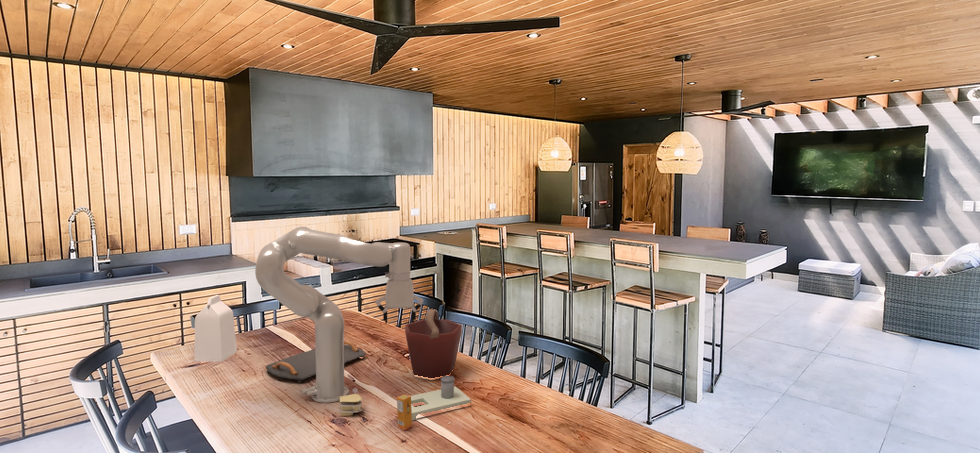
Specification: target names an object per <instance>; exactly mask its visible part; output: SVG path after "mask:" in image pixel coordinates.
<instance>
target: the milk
mask: <svg viewBox="0 0 980 453" xmlns="http://www.w3.org/2000/svg"><path fill="white" fill-rule="evenodd" d="M237 348H238V347H237V339H236V328H235V317H234V311H233V309H232V308H230V306H228V305H227V304H226V303H224V302H223V301H222V299H221V296H220V295H219V294H216V295H213V296H210V297H208V298H207V304H205V305H204V306H203V308H202V309H201V310H200V312H198V313H197V314H196V316H195V318H194V362H212V363H213V362H217V363H218V362H220V363H222V362H224V361H225V360H227V359H228V358H230V357H231V356H233V355H234V354H235V353H237V352H238V349H237Z"/></svg>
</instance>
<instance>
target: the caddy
mask: <svg viewBox="0 0 980 453" xmlns="http://www.w3.org/2000/svg"><path fill="white" fill-rule="evenodd" d="M410 396H411V410H412V422H413V421H416V420H415V419H416V416H417V415H418V414H421V413H427V412H432V411H438V410H441V409H446V408H450V407H454V406H458V405H463V404H467V403H471V404H472V399H471V398H470V397H469V396H468V395H467V394H465V393H464V392H463V391H462V390H461V389H459V388H458V387H457V386H455V376H452V375H450V376H443V377H441V379H440V389H437V390H432V391H428V392H427V391H426V392H423V393H418V394H414V395H410ZM418 402H424V403H425V404H426V405H421V406H417V407H414V406H413V405H412V404H413V403H418Z"/></svg>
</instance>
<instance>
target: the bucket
mask: <svg viewBox="0 0 980 453" xmlns="http://www.w3.org/2000/svg"><path fill="white" fill-rule="evenodd" d="M424 318H425V319H423V318H422V319H420V320H419V319H418V320H417V321H414V323H412V322H410V323H407V324H405V325H404V331H405V332H404V333H405V338H406V344H407V349H408V354H409V359H410V364H411V369H412V370H413V371H412V375H413V374H414V375H418V376H423V377H428V378H435V377H440V376H446V375H449V374H450V373H451V372H452V370H453V369H454V370H455V367H456V366H455V365H456V362H457V356H458V352H459V346H460V342H461V337H462V330H463V328H462V324H459V323H457V322H455V321H452V320H449V319H439V312H438V310H437V309H428V311H427V312H426V314H425V317H424ZM452 373H453V372H452ZM414 375H413V376H414Z"/></svg>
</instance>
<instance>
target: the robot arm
mask: <svg viewBox="0 0 980 453" xmlns="http://www.w3.org/2000/svg"><path fill="white" fill-rule="evenodd" d="M299 254H303V255H308V256H315V257H317V256H318V257H322V258H329V259H336V260H340V261H344V262H350V263H355V264H359V265H366V266H373V267H379V268H381V267H386V266H387V265H388V266H389V268H388V270H389V272H387V273H385V275H384V276H385V278H388V279H387V280H386V281H387V282H386V286H385V295H383V296H381V297H379V298H377V299H375V304H376V306H377V308H378V309H379V310H380V311H381V312H382V313H383V315H382V316H383V319H382V320H383V322H385V325H386V324H388V310H389V309H411V323H414V322H415V321H414V320H416V318H417V313H416V312H417V311H418V310H419V309H420V308H421V306H422V305H423V303H424V299H423V298H422V297H419V296H418V295H415V294H414V282H413V280H412V279H411V246H410V244H409V243H407V242H393V243H392V242H391V243H390V242H381V241H378V242H377V241H376V242H372V243H369V242H363V241H360V240H355V239H353V238H350V237H348V236H346V235H343V234H339V233H333V232H325V231H321V230H315V229H310V228H309V227H307V226H298V227H295V228H294V229H292V230H290V231H288V232H287V233H285V234H284V235H282V236H280V237H278V238H277V239H274V240H273V241H271V242H269V243H267V244H266V245H264V246H263V247H262V248H261V250H260V251H259V254H258V255H257V259H256V263H255V270H254V273H255V278H256V281H257V283H258V285H259V286H260V287H261V289H262V290H263V291H264V292H266V293H267V294H268V295H269V296H271V297H272V298H273V299H274V300H276V301H278V302H279V303H280V304H281V305H282V306H284V307H285V308H287V309H288V310H290V312H292V313H293V314H295V315H296V316H298V317H303V318H308V319H310V320H311V321H313V322H314V335H315V336H314V341H315V342H314V345H315V346H314V347H315V348H314V349H315V354H316V375H315V382H314V383H313V385H311V386H309V387H304V388H301V393H302V394H301V395H305V394H306V396H311V399H312V400H313V401H314V402H318V403H326V404H327V403H329V404H330V403H334V402H335V403H336V402H338V401H339V402H340V396H346V395H350V390H349V388H348V387H347V386H345V363H344V345H345V344H344V340H345V339H344V336H345V320H344V315H343V313H342V311H341V309H340V307H339V306H338V305H337V304H336V303H335V302H333V300H331V299H329V298H328V297H327V296H325V295H324V294H323V293H322V292H320V291H319V290H318V289H316V288H315V287H313V286H311V285H308V284H301V283H299V282H298V281H297V280H296V279H294V278H292V276H290V275H289V274H287V273H285V270H284V267H285V264H286V263H287V262H288V261H290V260H291V259H293V258H295V257H296V256H298V255H299ZM414 300H416V301H417V304H416V305H415V301H414ZM383 301H385V306H384V305H382V304H381V303H382V302H383Z"/></svg>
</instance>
